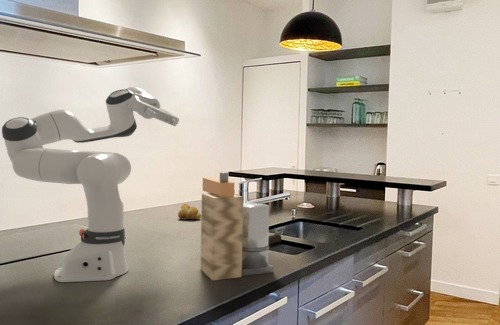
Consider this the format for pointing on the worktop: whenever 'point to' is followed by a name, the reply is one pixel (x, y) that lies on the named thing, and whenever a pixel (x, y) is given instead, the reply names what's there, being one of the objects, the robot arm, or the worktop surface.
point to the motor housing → (255, 239)
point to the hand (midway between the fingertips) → (164, 119)
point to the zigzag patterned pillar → (221, 236)
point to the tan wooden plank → (219, 186)
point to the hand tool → (274, 239)
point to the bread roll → (189, 212)
